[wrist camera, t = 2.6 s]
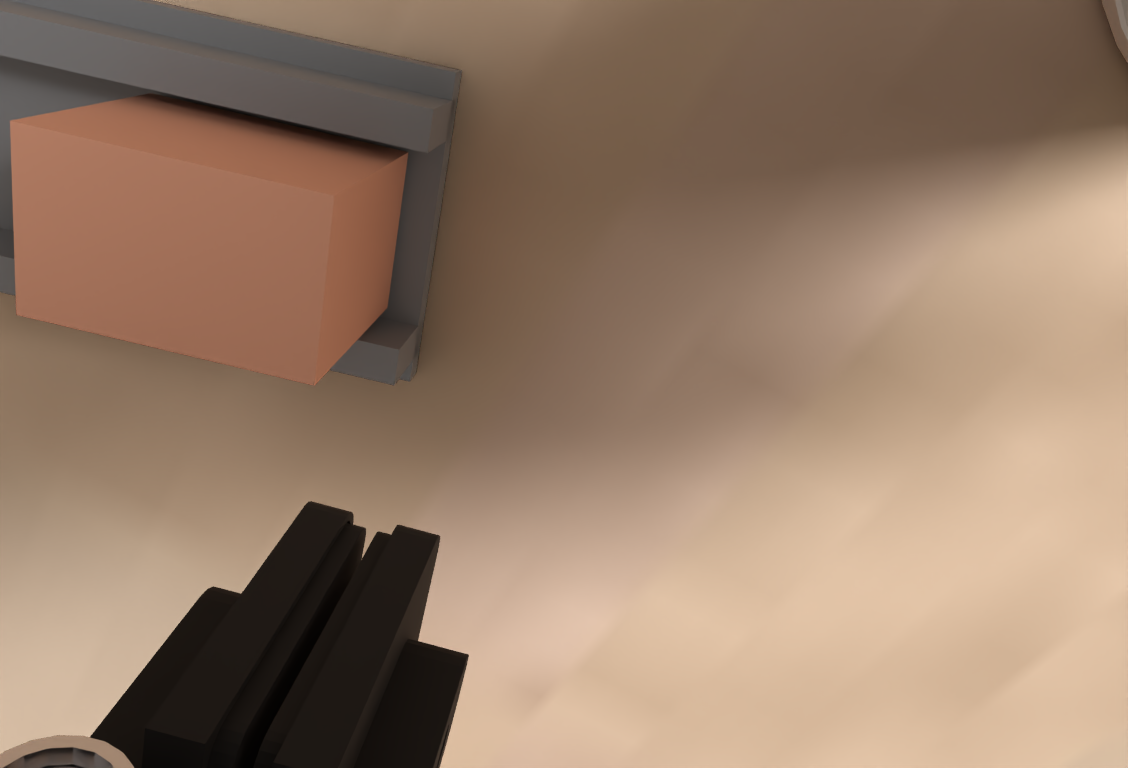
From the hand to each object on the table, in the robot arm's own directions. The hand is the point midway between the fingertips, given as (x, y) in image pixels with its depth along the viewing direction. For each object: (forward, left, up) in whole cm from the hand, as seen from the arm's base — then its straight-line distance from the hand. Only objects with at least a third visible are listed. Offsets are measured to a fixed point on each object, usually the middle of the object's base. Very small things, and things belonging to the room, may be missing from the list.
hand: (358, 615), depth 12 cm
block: (+9, +1, -19) cm, 21 cm away
